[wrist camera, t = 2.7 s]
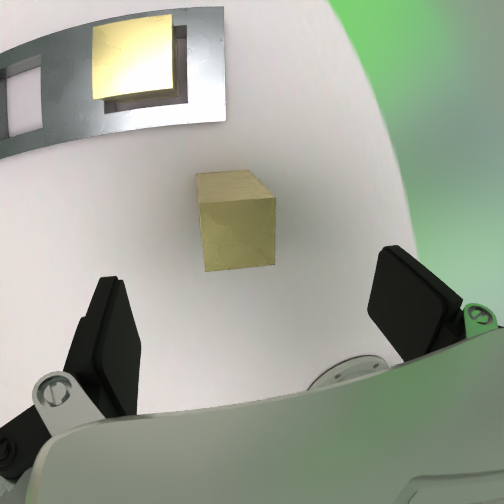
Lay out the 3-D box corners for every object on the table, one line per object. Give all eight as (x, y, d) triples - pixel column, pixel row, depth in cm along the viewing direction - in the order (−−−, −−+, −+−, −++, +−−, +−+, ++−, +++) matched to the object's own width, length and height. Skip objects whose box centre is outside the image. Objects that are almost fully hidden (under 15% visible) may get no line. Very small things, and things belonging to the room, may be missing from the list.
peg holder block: (218, 21, 18) (233, -20, 11) (220, 119, 21) (235, 123, 14) (-13, 73, 14) (-71, 71, 7) (-8, 160, 18) (-66, 185, 11)
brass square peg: (248, 170, 23) (275, 197, 16) (249, 218, 25) (274, 264, 18) (196, 173, 23) (199, 203, 16) (199, 223, 24) (205, 271, 17)
